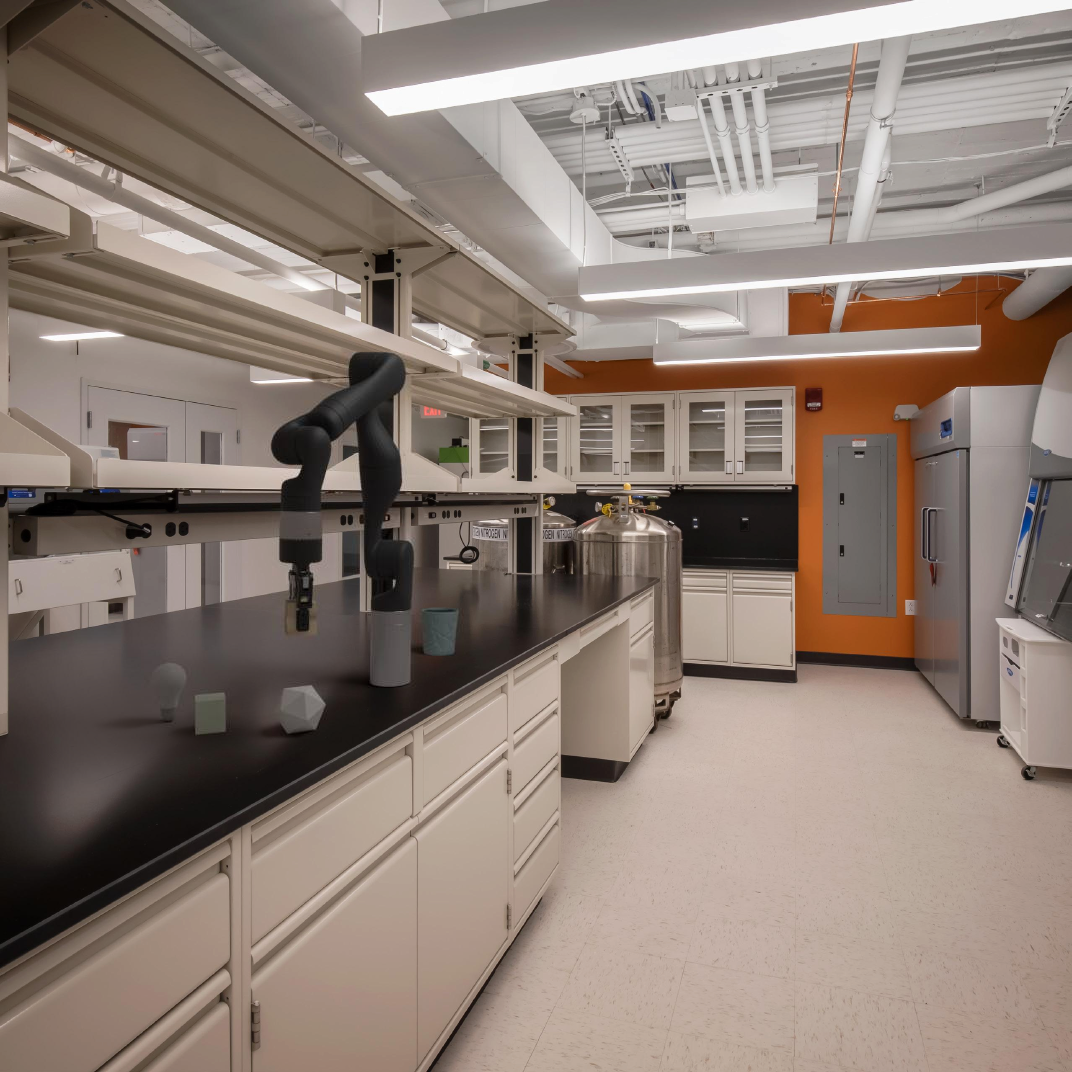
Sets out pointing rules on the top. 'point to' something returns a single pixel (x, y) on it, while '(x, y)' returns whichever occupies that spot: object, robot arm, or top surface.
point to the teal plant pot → (439, 630)
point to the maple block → (291, 619)
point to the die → (299, 709)
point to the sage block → (210, 713)
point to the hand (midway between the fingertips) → (300, 628)
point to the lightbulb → (168, 687)
